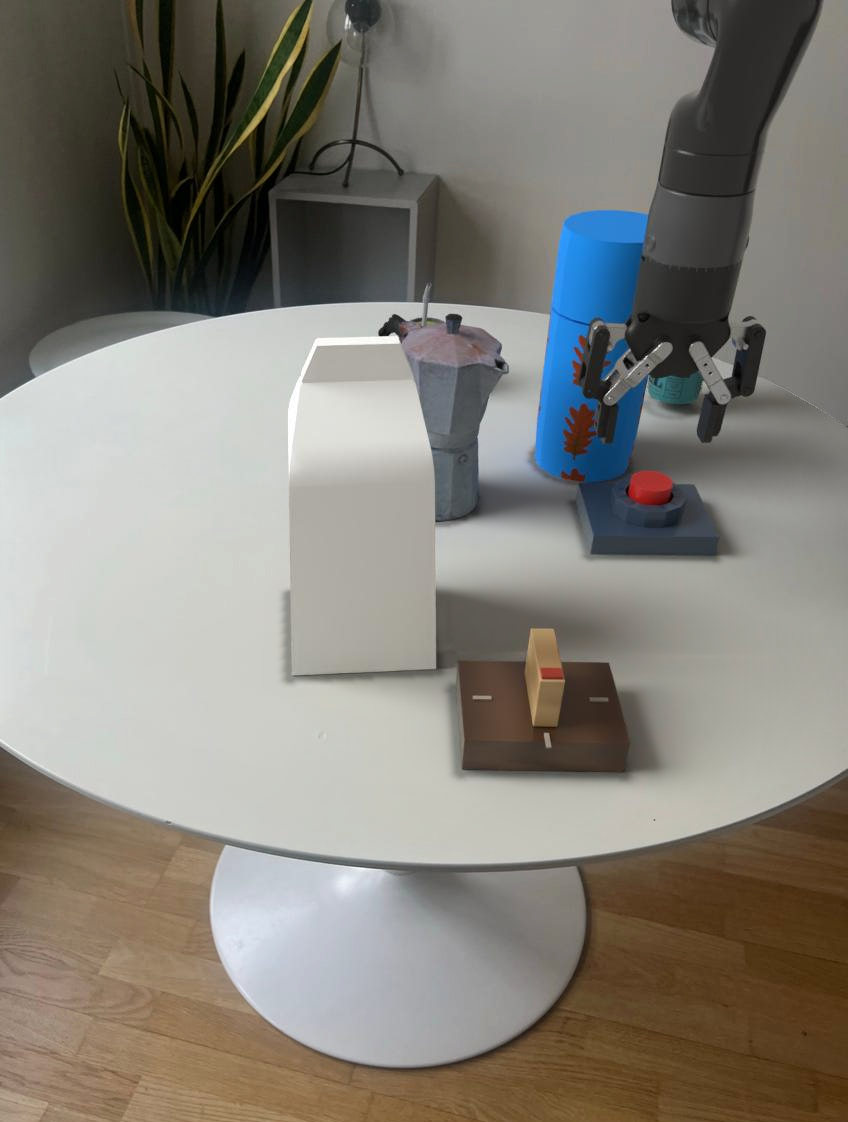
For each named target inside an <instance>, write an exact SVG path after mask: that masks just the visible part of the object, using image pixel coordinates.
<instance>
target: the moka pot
mask: <svg viewBox="0 0 848 1122" xmlns="http://www.w3.org/2000/svg"><path fill="white" fill-rule="evenodd" d="M462 322H463V316H462V315H460V314H458V313H448V314H447V315H445V323H440V324H434V325H428V326H421V324H420V323H417V322H414V321H410V320H406V319H404V318H403V317H401V315H399V314H396V313H393V314H391V317H389V318H388V320H387V321H385V322H384V323H383V325H382V327H380V328H379V330H378V331H377V334H378V336H377V337H380V336H391V335H392V334H396V336H398V337H399V338H400V339H401V340H402V341H403V342H402V343H401V344H402V347H403V349H404V352H405V354H406V357H407V359H408V362H409V364H410V366H411V369H412V373H413V376H414V380H415V383H416V388H417V392H418V396H419V400H420V405H421V409H422V413H423V417H424V422H425V426H426V430H427V434H428V439H429V443H430V448H431V452H432V458H433V464H434V474H435V521H437V522H440V521H441V522H443V521H444V522H445V521H451V520H456V519H460V518H462V517H464V516H466V515H468V514H470V513H471V512H472V511H474V509H475V508H476V506H477V504H478V501H479V498H480V497H479V495H480V481H479V480H480V479H479V477H480V476H479V474H480V472H479V438H478V437H479V433H480V427H481V423H482V421H483V419H484V417H485V416H484V415H485V414H486V411H487V407H488V403H489V399H490V395H491V394H492V392H493V390H494V389H495V387H496V386H497V384H498V383H499V381H500V379H501V378H502V377H503V375H507V374H510V365H509V363H507V362H506V361H505V358H503V356H501V353H502V350H503V345H502V342H501V341H500V340H498V339H497V338H495V337H494V336H493V335H491V333H489V332H488V331H486V329H483V328H482V327H476V326H471V325H465V324H462Z"/></svg>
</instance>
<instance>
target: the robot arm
mask: <svg viewBox="0 0 848 1122" xmlns="http://www.w3.org/2000/svg"><path fill="white" fill-rule="evenodd" d="M824 3H825V0H670V6H671V13H672V16H673V19H674V22H675V24H676V26H677V28H678V29H679V30H680V32H682V33H683V35H684V36H686V38H689V40H691V41H693V42H696V43H697V44H699V45H703V46H706V47H711V48H714V50H713V51H714V52H713V54H712V58H711V61H710V63H709V67H708V69H707V72H706V74H705V78H704V80H703V82H702V86H701V88H700V89H696V90H695V89H694V90H692V91H689V92H687V93H685V94H683V95H682V96H681V97H679V98H678V99H677V100H676V102H675V103H674V105H673V107H672V108H671V112H670V115H669V118H668V121H667V125H666V131H665V136H664V143H663V148H662V154H661V160H660V166H659V171H658V176H657V177H658V178H657V182H656V186H655V190H654V194H653V197H652V200H651V202H650V207H649V210H648V219H647V225H646V230H645V236H644V242H643V248H642V254H641V259H640V265H639V271H638V277H637V283H636V289H635V294H634V300H633V307H632V312H631V314H630V316H629V318H628V320H627V321H626V322H625V324H619V323H605V322H604V321H603V320H602V319H601V318H594V319H593V320H591V322H590V324H589V329H588V334H587V338H586V343H585V348H584V353H583V358H582V362H581V367H580V372H579V377H578V384H579V386H580V387H581V389H582V393H583V395H584V397H585V398H587V399H592V398H594V399H597V400H598V403H597V409H596V415H595V422H594V427H595V431H596V433H597V435H598V438H601V440H602V442H603V444H612V443H613V439H614V433H615V427H616V421H617V416H618V410H619V405H618V403H617V401H618V400H619V399H620V398H621V397H622V396H623V395H624V394H625V393H626V392H627V391H628V390H629V389H630V388H634V387H636V386H637V385H638V384H639V383H640V382H641V381H642V380H643V379H644V378H645V377H646V376H647V375H650V376H651V377H652V378H664V377H668V376H675V377H679V378H690V375H692V374H694V373H696V372H699V373H700V375H701V376H702V378H703V380H704V382H703V383H704V384H705V385H706V387H707V389H708V390H709V392H708V393H704V397H703V401H702V405H701V409H700V414H699V418H698V423H697V425H696V436H697V438H698V439H699V441H700V442H701V444H711V443H712V442H713V437H718V436H719V434H720V432H721V431H722V427H723V422H724V420H725V419H724V418H725V414H726V410H727V406H728V404H729V402H731V400H733V399H735V398H739V397H743V398H748V397H750V396H752V395H753V394H754V393H755V390H756V385H757V380H758V375H759V371H760V365H761V360H762V357H763V356H762V355H763V352H764V351H763V350H764V345H765V340H766V336H767V330H766V329H765V327H764V326H763V325H762V324H761V322H760V321H759V320H758V319H757V318H756V317H755V316H753V315H747V316H746V317H744V318H743V319H742V320H741V321H736V322H735V321H733V322H729V316H730V313H731V310H732V307H733V303H734V300H735V299H734V298H735V295H736V290H737V286H738V282H739V278H740V274H741V269H742V266H743V261H744V256H745V252H746V251H747V248H748V246H749V243H750V232H751V227H752V222H753V215H754V205H755V196H756V190H757V186H758V182H759V178H760V173H761V169H762V164H763V161H764V156H765V153H766V148H767V144H768V138H769V132H770V129H771V126H772V124H773V122H774V119H775V117H776V116H777V114H778V111H779V110H780V108H781V106H782V104H783V103H784V100H785V99H786V97H787V95H788V92H789V90H790V88H791V86H792V83H793V81H794V79H795V76H796V75H797V72H798V70H799V69H800V67H801V64H802V62H803V60H804V57H805V55H806V53H807V50H808V49H809V47H810V45H811V43H812V40H813V37H814V35H815V33H816V30H817V27H818V25H819V22H820V19H821V16H822V12H823V8H824ZM621 339H624V340H625V341H626V343H627V345H628V347H629V349H628V350H627V351H626V352H625V353H624V354H623V355H622V356H621V357H620V358H619V359H618V360H617V362H616V363H615V367H614V368H613V369H612V370H611V372H610V373H609V374H608V375H607V376H606V377H605V378H604V379H603V380H601V375H602V371H603V366H604V362H605V357H606V353H607V352H609V351H611V350H613V349H614V347H615V345H616V343H617V342H618V341H619V340H621ZM730 339H731V343H732V345H733V346H734V348H735V349H736V350H735V355H734V360H733V366H732V372H731V376H729V377H726V378H723V376H722V374H721V372H720V371H719V370H718V367H717V365H716V364H715V362H714V360H713V359H712V358H714V356H715V355H716V354H717V353H718V352H719V351H720V350H721V349H722V348H723V347H724V346H725V345H726V344H727V343H728V341H729V340H730Z"/></svg>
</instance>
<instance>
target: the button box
mask: <svg viewBox="0 0 848 1122" xmlns="http://www.w3.org/2000/svg"><path fill="white" fill-rule="evenodd" d="M631 477H632V475H629V476H627V477H624V478H620V479H619V480H618V481H617V482H578V483H577V487H576V493H575V505H576V508H577V511H578V512H577V513H578V515H579V520H580V522H581V527H582V530H583V534H584V537H585V540H586V544H587V547H588V552H589V555H619V556H620V555H621V556H623V555H624V556H625V555H626V556H697V557H698V556H701V557H705V556H706V557H714V556H715V555H716V552H717V548H718V544H719V540H720V534H719V533H718V531H717V529H716V527H715V525H714V523H713V521H712V519H711V518H712V517H711V516H710V514H709V512H708V510H707V508H706V505H705V503H704V502H703V499H702V497H701V495H700V493H699V491H698V488H697V487H696V485H695V484H694V483H675V482H673V487H672V491H671V495H670V500H669V502H668V503H666V504H663V505H645V504H642V503H638V502H635V501H634V500H633V499H631V498H630V497H629V496H628V491H629V486H630V481H631Z"/></svg>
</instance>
